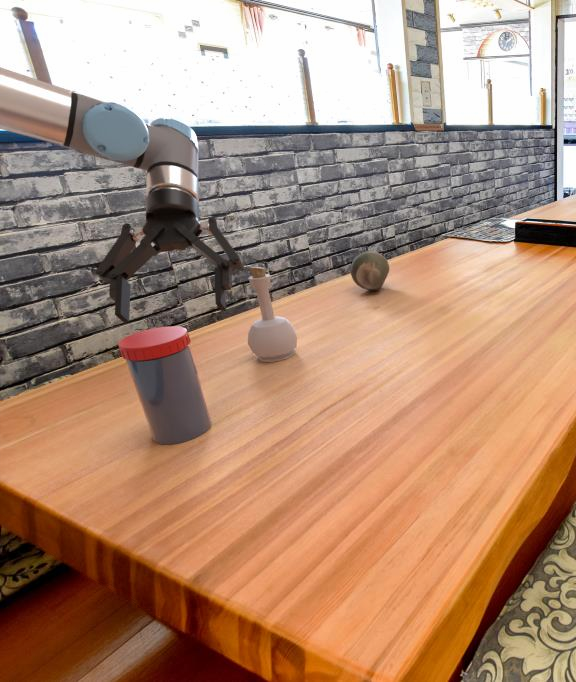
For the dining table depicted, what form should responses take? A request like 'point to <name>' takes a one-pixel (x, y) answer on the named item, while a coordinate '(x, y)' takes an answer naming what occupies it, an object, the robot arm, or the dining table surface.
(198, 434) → the grey storage canister
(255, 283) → the potion bottle
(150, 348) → the lid
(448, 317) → the dining table surface
